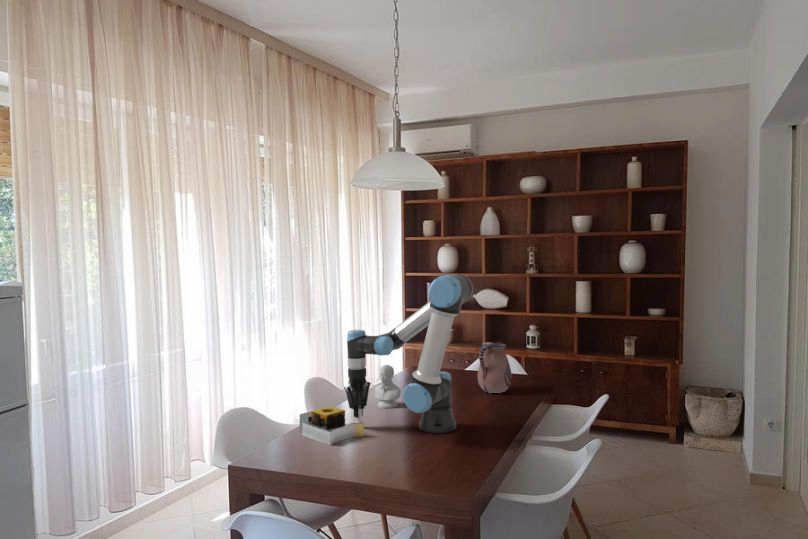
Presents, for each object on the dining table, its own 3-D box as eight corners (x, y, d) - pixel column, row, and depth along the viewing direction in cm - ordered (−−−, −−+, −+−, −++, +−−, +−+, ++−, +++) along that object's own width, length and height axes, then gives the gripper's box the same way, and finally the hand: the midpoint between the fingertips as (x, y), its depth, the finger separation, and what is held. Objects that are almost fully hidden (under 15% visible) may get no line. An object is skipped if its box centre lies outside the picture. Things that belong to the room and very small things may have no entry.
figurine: (395, 409, 257) (394, 367, 256) (370, 407, 262) (370, 365, 261) (403, 404, 265) (403, 364, 265) (379, 402, 270) (379, 362, 270)
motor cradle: (365, 435, 220) (364, 418, 219) (332, 446, 208) (332, 427, 208) (327, 423, 237) (326, 407, 236) (295, 432, 225) (294, 415, 225)
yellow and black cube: (326, 441, 214) (325, 415, 214) (310, 436, 221) (309, 410, 221) (346, 435, 221) (346, 410, 221) (330, 430, 228) (330, 405, 228)
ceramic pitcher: (517, 390, 289) (516, 342, 289) (501, 399, 272) (500, 348, 271) (486, 386, 299) (485, 340, 298) (468, 395, 281) (468, 345, 281)
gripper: (362, 364, 237) (364, 419, 238) (338, 369, 228) (340, 426, 228) (374, 366, 232) (376, 422, 233) (351, 371, 223) (352, 430, 223)
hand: (358, 424), depth 230 cm, fingers closed
